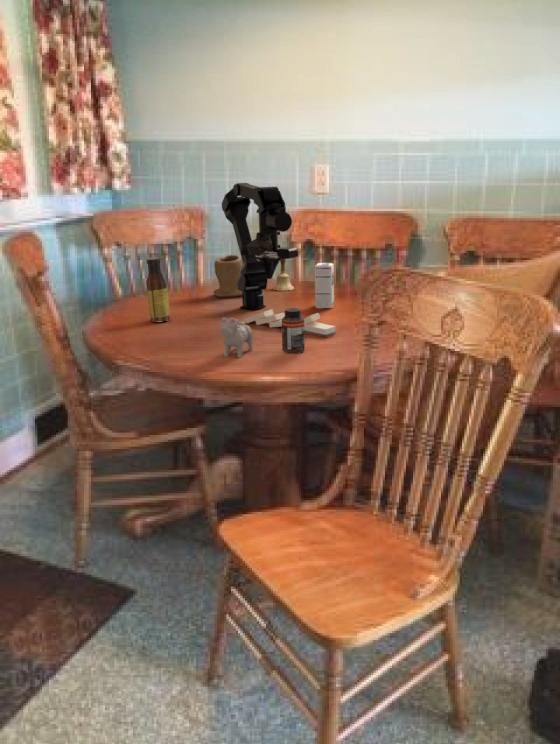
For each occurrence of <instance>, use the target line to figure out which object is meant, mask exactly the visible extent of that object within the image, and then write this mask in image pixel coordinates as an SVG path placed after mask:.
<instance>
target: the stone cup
mask: <svg viewBox="0 0 560 744" xmlns="http://www.w3.org/2000/svg"><path fill="white" fill-rule="evenodd" d="M213 265H214V273H215V276H216V280H217V281H218V285H219V288H216V289H214V290H213V295H214V296H216V297H219V298H220V297H222V298H223V297H224V298H225V297H227V298H228V297H240V296H241V297H242V291H239V290H238V286H237V283H238V281H239V279H240V277H241V273H240V272H241V269H242V265H243V262H242V258H241V255H238V254H228V255H226V256H219V257H218V258H216V259H215V260H214V264H213Z"/></svg>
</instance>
